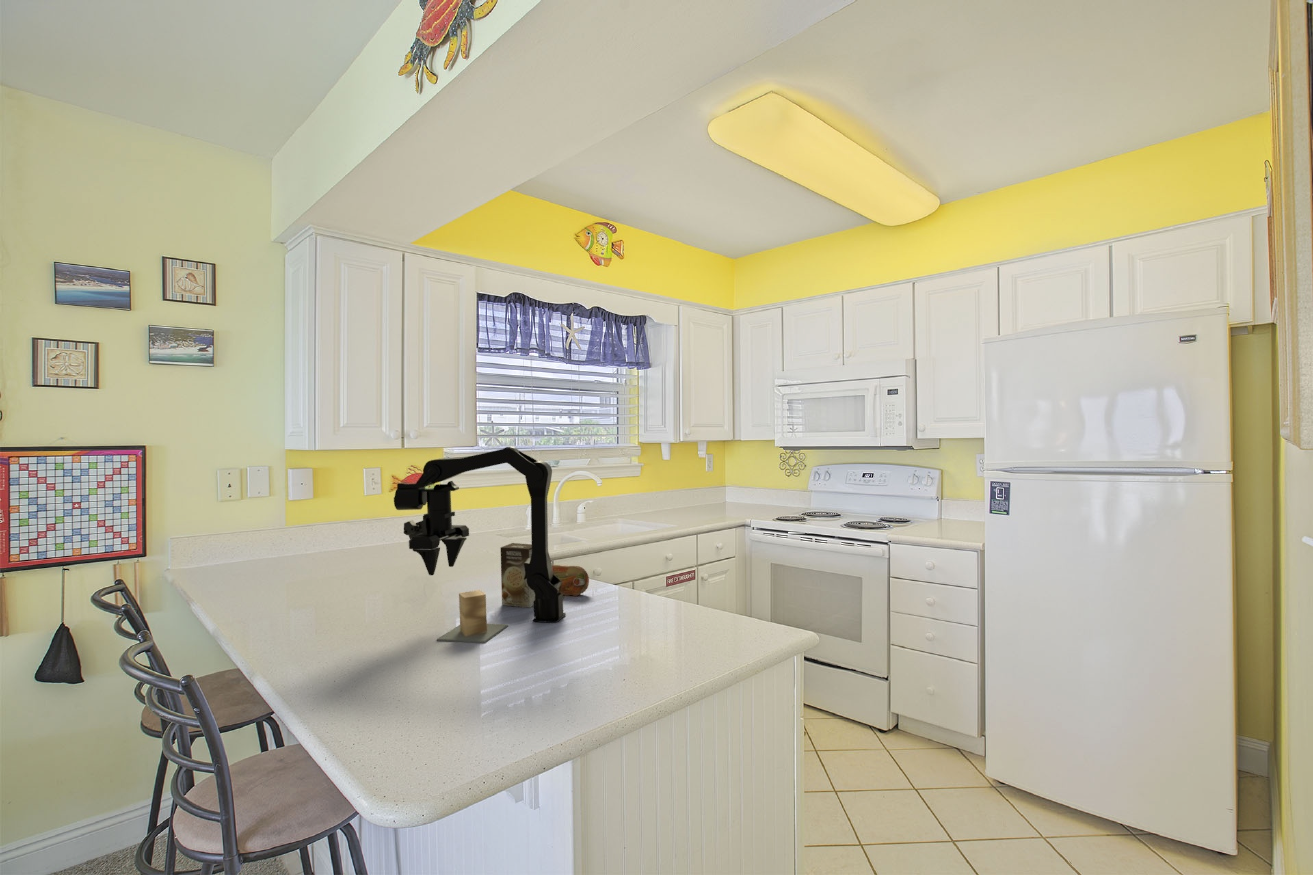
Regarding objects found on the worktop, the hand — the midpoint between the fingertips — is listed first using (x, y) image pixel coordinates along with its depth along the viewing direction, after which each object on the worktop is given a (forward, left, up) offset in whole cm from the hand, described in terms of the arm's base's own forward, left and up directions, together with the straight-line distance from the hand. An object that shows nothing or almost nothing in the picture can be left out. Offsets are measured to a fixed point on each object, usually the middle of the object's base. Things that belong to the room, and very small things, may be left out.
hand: (441, 570), depth 161 cm
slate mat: (-12, +7, -13) cm, 19 cm away
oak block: (-12, +7, -13) cm, 19 cm away
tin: (-22, -29, -13) cm, 38 cm away
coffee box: (-13, -18, -13) cm, 26 cm away
